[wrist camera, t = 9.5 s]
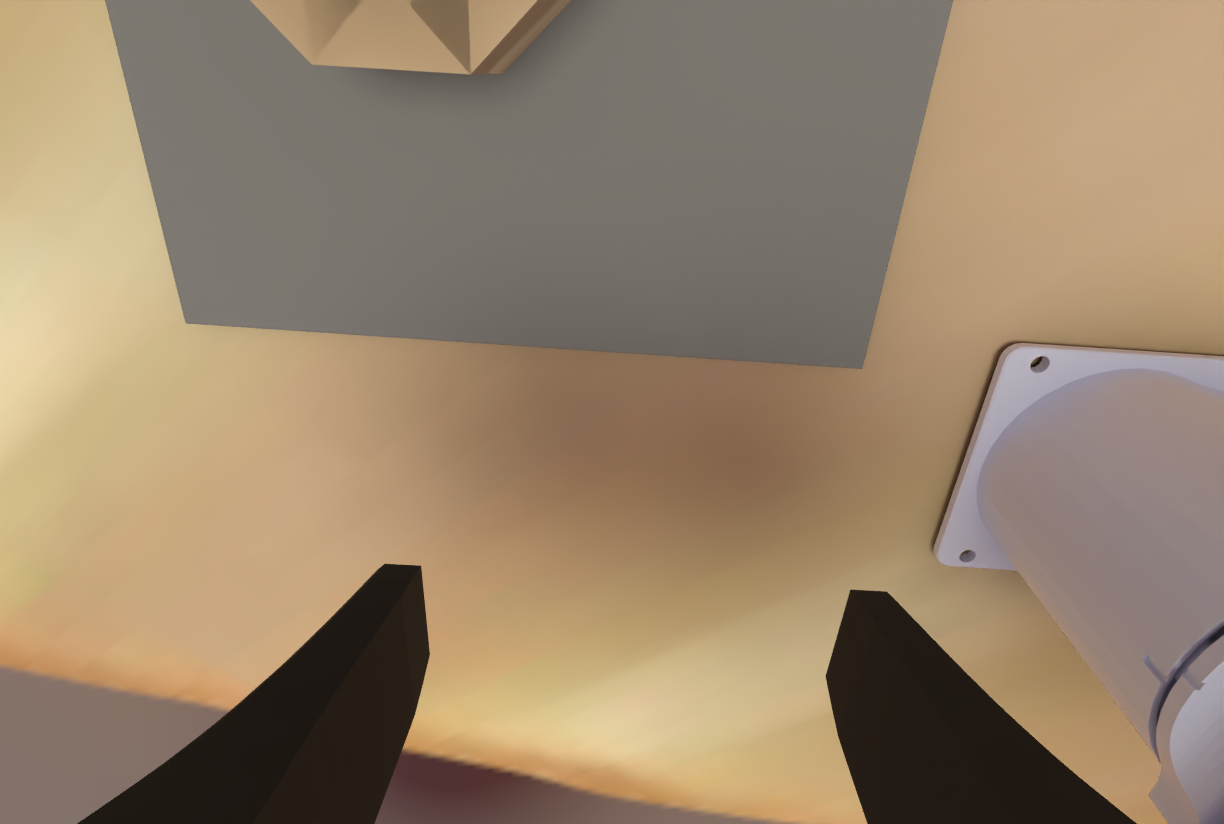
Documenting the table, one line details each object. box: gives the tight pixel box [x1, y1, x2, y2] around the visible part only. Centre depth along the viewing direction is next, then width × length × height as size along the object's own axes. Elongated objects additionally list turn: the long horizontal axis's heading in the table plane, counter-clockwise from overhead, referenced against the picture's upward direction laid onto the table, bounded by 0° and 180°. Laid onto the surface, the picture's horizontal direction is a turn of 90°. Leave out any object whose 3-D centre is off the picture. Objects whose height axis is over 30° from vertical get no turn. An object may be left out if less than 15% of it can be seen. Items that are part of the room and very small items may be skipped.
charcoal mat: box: [105, 0, 953, 369], centre depth 16 cm, size 20×17×1 cm
